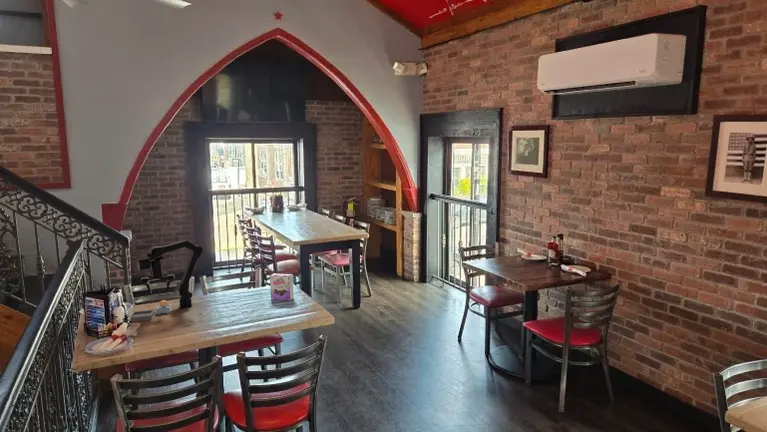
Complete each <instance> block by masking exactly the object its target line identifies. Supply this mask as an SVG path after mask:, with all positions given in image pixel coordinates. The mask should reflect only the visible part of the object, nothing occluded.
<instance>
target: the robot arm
mask: <svg viewBox="0 0 767 432" xmlns="http://www.w3.org/2000/svg"><path fill="white" fill-rule="evenodd" d="M183 248H185V249H187V250H189V252H188V254H189V259H188V260H187V261H188V262H187V265H186V266H185V269H184V273H183V276H182V278H181V280H180V281H177V282H176V286H175V287H174V289H175V293H176V294H177V295H178V296H179V306H180V309H182V308H183V309H184V308H192V306H193V301H192V300H193V299H192V298H193V293H192V292H191V291H189V290H190V280H191V278H192V276H193V273H194V269H195V267H196V264H197V262H198V260H199V259H200V257H201V256H202V254H203V251H204V249H203V247H202V246H200V245H197V244H193V243H191V242H190V241H188V240H185V239H183V240H180V241H177V242H173V243H169V244H166V245H155V246H151V247H150V248H149V249H148V252H147V254H146V256H145V258H138V259H137V261H136V267H137V270H138V272H141V271H146V270H150V271H149V274H150V276H151V277H149V276H144V277H141V279H140V285H143V286H145V287H146V288H147V290H148V291H149V294H150V295H152V294H153V293H152V292H153V291H152V288H151V284H150V282H155V281H165V280H166V292H169V288H170V284H171V283H172V282H173V281H175V279H176V277H175V276H176V275H175V274H174V273H170V274H169V273H168V274H167V275H164V272H163V268H162V265H163V264H162V260H165V257H163V256H162V255H164V254H166V253H168V252H172V251H176V250H180V249H183Z"/></svg>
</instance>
